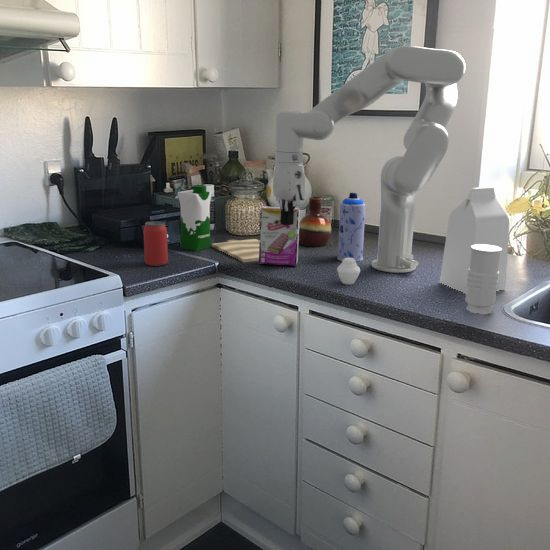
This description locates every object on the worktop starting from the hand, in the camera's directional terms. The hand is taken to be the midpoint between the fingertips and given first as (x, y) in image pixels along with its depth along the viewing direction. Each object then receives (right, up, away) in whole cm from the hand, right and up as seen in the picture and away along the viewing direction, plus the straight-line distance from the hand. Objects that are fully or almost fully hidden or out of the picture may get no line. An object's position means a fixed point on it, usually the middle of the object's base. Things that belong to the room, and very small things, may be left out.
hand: (287, 224), depth 173 cm
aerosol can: (+19, -9, +15) cm, 27 cm away
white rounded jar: (+16, -16, -9) cm, 25 cm away
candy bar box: (-2, -11, +7) cm, 13 cm away
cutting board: (-12, -6, +23) cm, 26 cm away
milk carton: (-29, -6, +25) cm, 39 cm away
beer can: (-38, -11, +6) cm, 40 cm away
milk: (+48, -17, -10) cm, 52 cm away
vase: (+10, -4, +33) cm, 35 cm away
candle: (+44, -23, -28) cm, 57 cm away
